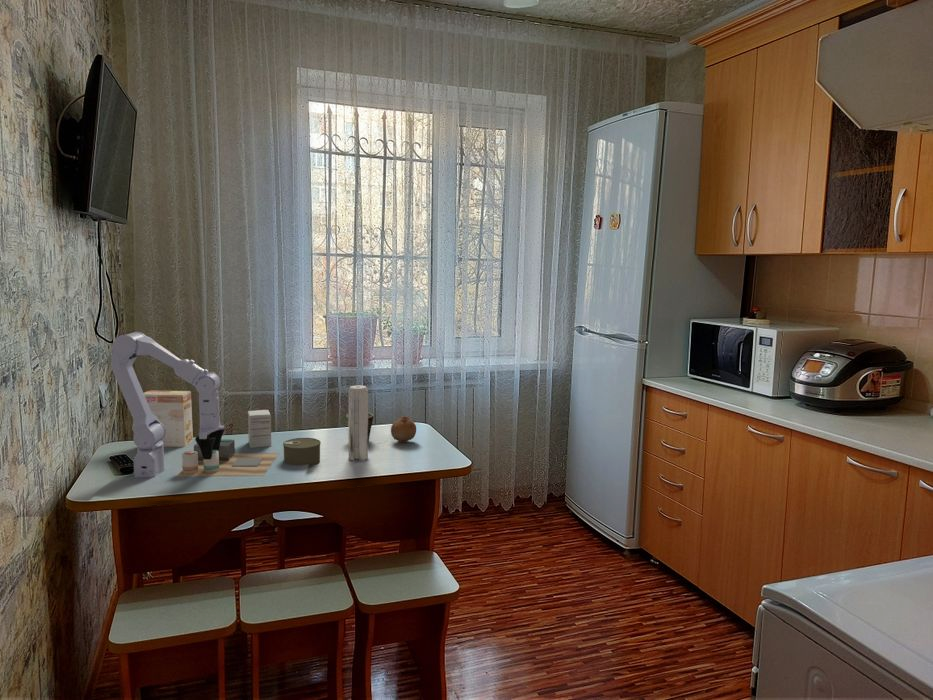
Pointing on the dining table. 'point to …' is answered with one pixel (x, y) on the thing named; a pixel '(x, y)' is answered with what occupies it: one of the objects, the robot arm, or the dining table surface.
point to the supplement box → (259, 428)
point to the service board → (230, 470)
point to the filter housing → (220, 450)
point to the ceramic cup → (370, 420)
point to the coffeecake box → (173, 415)
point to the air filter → (358, 422)
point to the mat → (247, 462)
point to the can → (302, 451)
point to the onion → (403, 429)
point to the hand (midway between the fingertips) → (211, 455)
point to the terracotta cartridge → (190, 462)
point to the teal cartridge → (212, 463)
